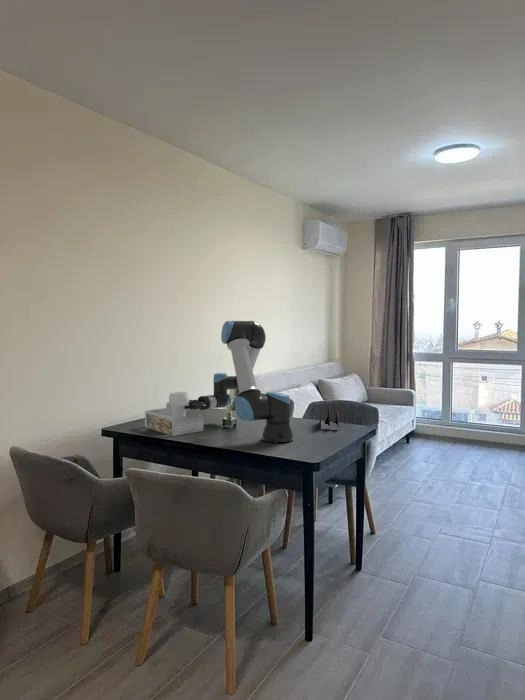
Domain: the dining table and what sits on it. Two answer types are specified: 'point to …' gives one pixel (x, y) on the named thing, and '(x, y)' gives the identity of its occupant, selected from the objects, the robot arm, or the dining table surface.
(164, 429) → the offcut bundle
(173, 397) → the cup
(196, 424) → the grey open storage bin
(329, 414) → the letter holder
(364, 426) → the dining table surface
